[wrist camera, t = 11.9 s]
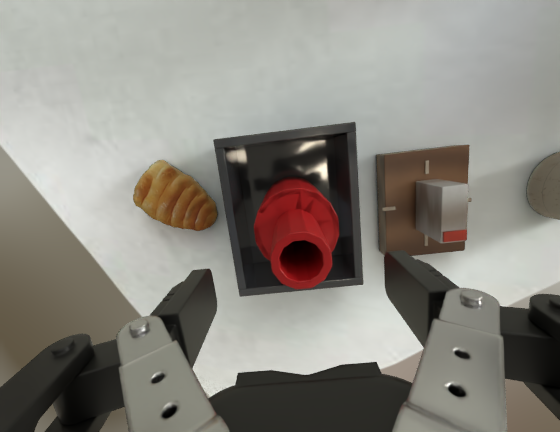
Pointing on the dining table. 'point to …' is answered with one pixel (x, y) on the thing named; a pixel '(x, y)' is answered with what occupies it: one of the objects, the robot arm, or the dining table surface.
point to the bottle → (297, 232)
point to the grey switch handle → (442, 210)
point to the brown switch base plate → (414, 195)
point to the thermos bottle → (546, 187)
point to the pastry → (174, 198)
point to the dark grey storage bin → (290, 163)
